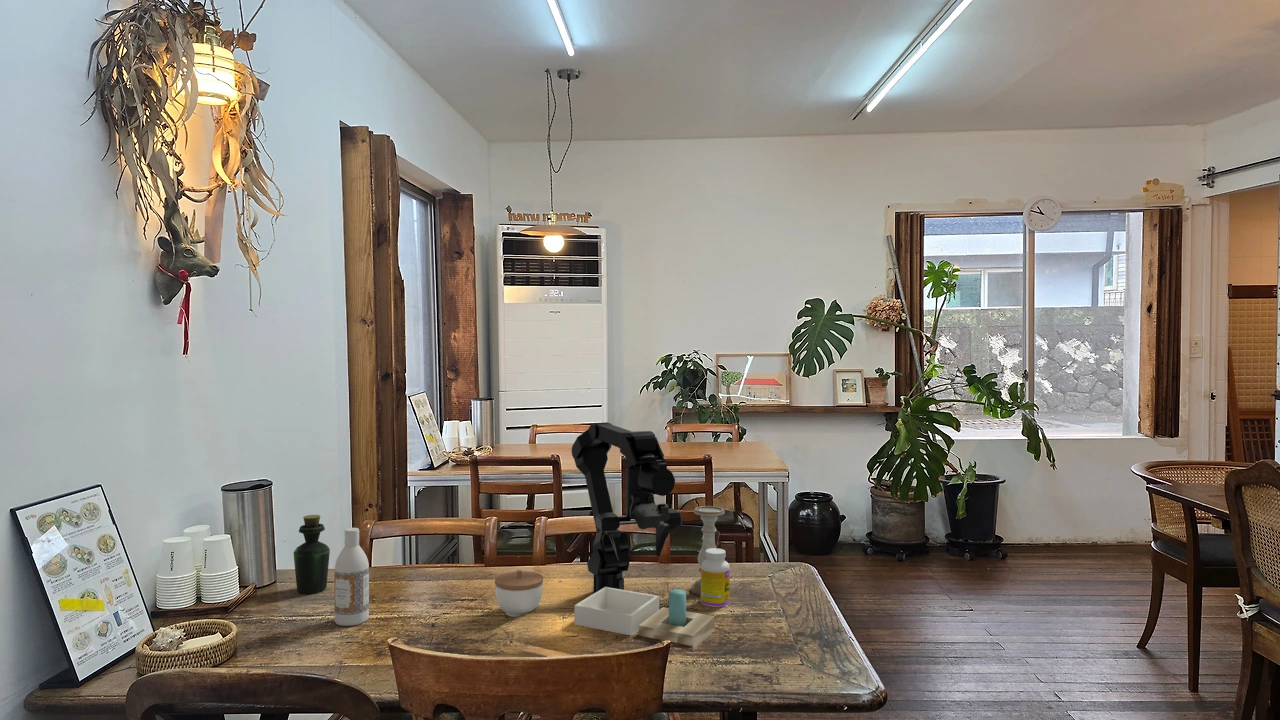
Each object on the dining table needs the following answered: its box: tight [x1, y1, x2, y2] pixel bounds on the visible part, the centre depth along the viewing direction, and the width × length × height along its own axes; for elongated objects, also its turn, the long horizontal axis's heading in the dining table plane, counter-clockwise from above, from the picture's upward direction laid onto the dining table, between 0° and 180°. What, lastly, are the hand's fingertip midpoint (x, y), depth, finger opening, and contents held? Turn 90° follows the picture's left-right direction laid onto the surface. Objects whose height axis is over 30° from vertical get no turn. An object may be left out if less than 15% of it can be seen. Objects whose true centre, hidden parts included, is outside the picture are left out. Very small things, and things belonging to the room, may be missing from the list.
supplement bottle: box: [700, 547, 731, 608], centre depth 171 cm, size 7×7×13 cm
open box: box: [573, 587, 660, 637], centre depth 160 cm, size 14×14×5 cm
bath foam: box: [333, 527, 370, 627], centre depth 160 cm, size 7×7×20 cm
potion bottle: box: [292, 514, 331, 595], centre depth 180 cm, size 8×8×18 cm
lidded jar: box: [494, 569, 544, 618], centre depth 166 cm, size 11×11×9 cm
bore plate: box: [638, 607, 715, 652], centre depth 153 cm, size 12×12×3 cm
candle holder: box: [690, 505, 726, 597], centre depth 181 cm, size 9×9×20 cm
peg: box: [668, 588, 687, 627], centre depth 153 cm, size 4×4×9 cm
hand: (638, 558), depth 164 cm, fingers open, 9 cm apart
